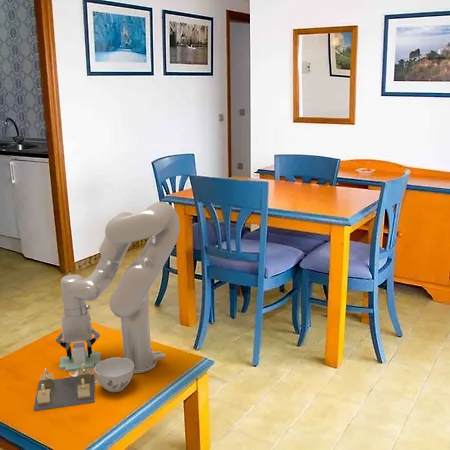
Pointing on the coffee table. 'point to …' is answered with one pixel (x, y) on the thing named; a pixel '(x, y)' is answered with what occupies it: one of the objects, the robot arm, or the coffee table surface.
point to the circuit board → (79, 366)
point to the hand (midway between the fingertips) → (79, 356)
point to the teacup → (114, 373)
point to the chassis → (65, 390)
